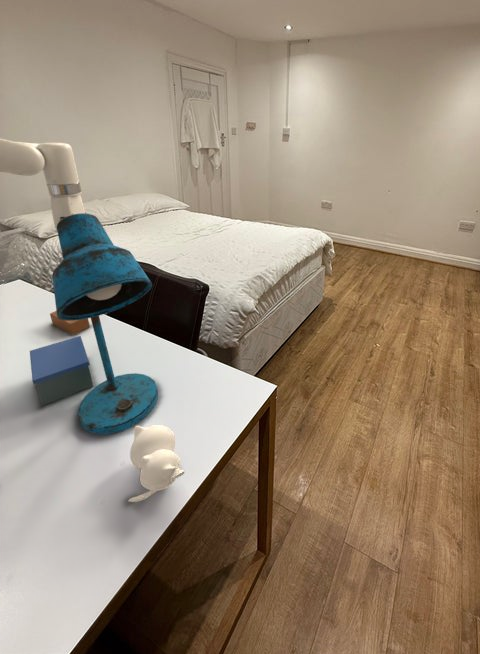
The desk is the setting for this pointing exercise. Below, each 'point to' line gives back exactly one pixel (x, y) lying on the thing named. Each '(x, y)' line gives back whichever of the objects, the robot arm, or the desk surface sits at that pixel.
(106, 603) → the desk surface
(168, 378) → the desk surface
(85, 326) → the block
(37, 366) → the container
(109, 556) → the desk surface
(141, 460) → the cat figurine
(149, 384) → the desk lamp
